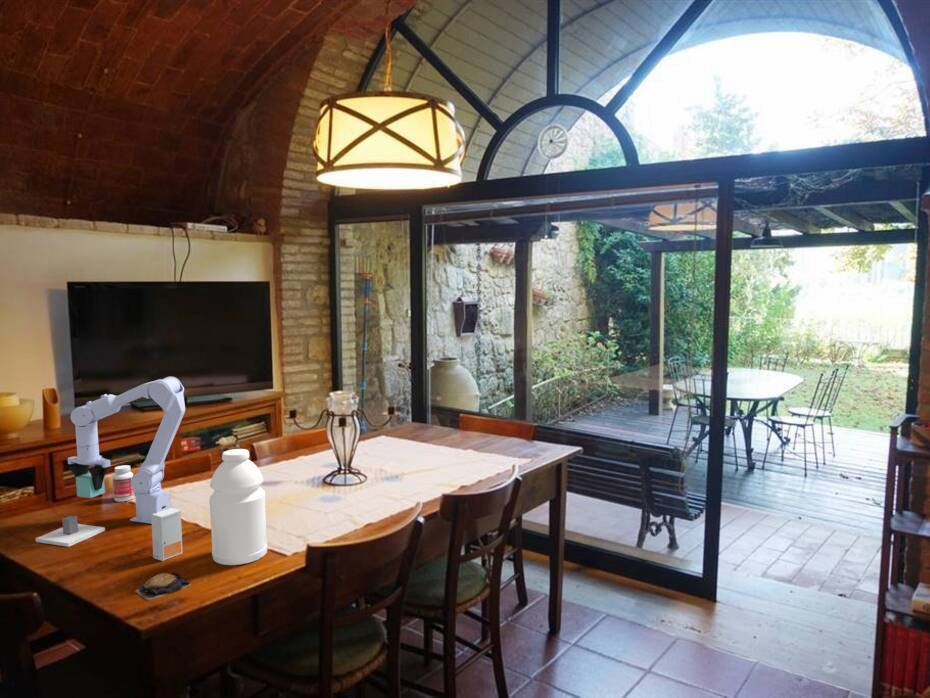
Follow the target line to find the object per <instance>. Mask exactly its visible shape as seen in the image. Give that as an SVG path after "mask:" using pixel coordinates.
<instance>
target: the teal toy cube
mask: <svg viewBox="0 0 930 698" xmlns="http://www.w3.org/2000/svg"><path fill="white" fill-rule="evenodd" d="M75 485H76V497H79V498H87V499H92V498H94V497H97V496H100V495H102V494H105V493H106V487H105V479H104V480H103V484H102V488H101V489H99V490H94V486H93V480H92V476H91V474H90V472H88V473H87V474H84V475H81V476H78V477H76V478H75Z"/></svg>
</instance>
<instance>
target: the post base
mask: <svg viewBox="0 0 930 698" xmlns="http://www.w3.org/2000/svg"><path fill="white" fill-rule="evenodd" d="M61 520H62V521H61V522H62V527H59V528H58V529H56V530H53V531H50V532H48V533H45V534H42V535H41V536H38V537H35V539H34V540H35V543H41V544H46V545H47V544H48V545H55V546H60V547H66V548H67V547H68V548H69V547H71V546H73V545H77V544H78V543H80V542H83V541H85V540H88V539H90V538H91V537H94V536H97V535H99V534H102V532H105V531H106V528H105V527H104V526H95V525H89V524H82V523H78V516H76V515H68V516H65V517H63V518H61Z"/></svg>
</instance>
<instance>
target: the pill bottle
mask: <svg viewBox="0 0 930 698" xmlns="http://www.w3.org/2000/svg"><path fill="white" fill-rule="evenodd" d="M114 473H115V474H113V475H112V486H113V487H112V488H113V499H114V501H115V502H119V503H123V502H129V501H131V500H133V499H135V491H134V490H133V489H132V487H131V478H132V477H133V476H134V473H133V472H132V471H131V465H128V464H127V465H126V464H125V465H123V464H122V465H117V466H115V467H114Z"/></svg>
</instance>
